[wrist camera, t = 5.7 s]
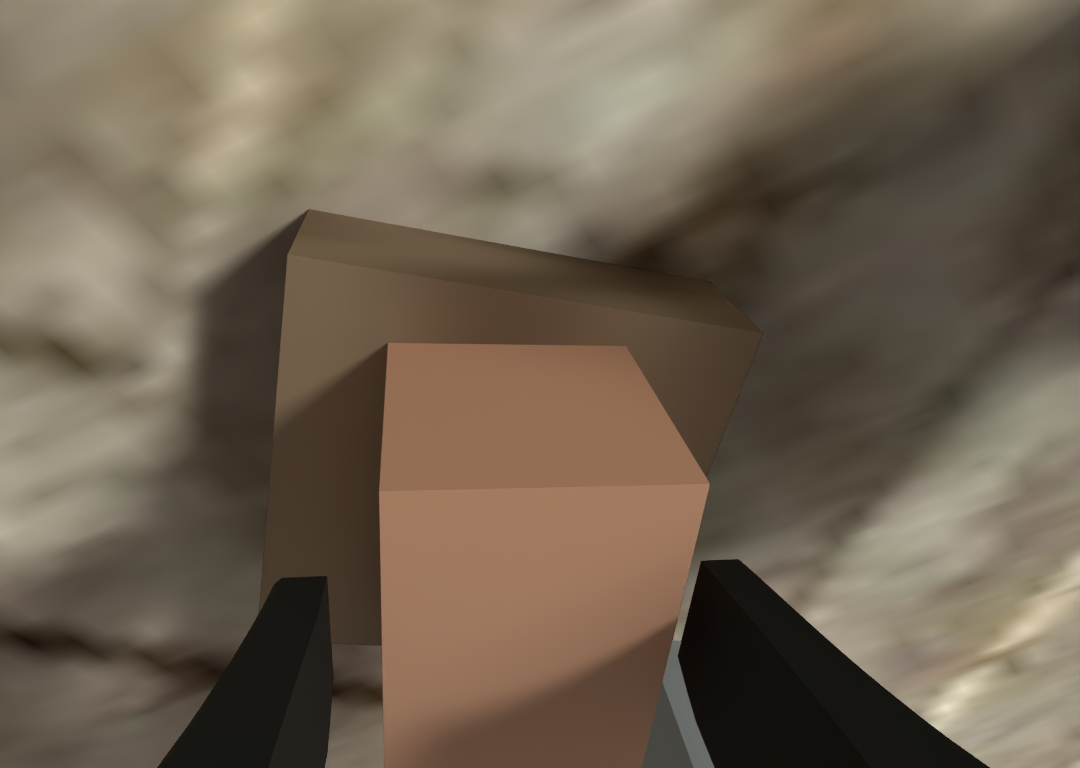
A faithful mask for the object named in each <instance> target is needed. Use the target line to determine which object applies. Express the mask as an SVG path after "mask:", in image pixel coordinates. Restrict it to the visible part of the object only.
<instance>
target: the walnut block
mask: <svg viewBox="0 0 1080 768" xmlns="http://www.w3.org/2000/svg"><path fill="white" fill-rule="evenodd" d="M762 336H763V332H762V331H761V330H760V329H758V328H757V327H756V326H755V325H754V324H753V323H752V322H751V321H750V320H749V319H748V318H747V317H746V316H745V315H744V314H743V313H742V312H741V311H740V310H739V309H738V308H737V307H736V306H735V305H734V304H733V303H732V302H731V301H730V300H729V299H728V298H727V297H726V296H725V295H724V294H722V293H721V292H720V291H719V290H718V289H717V288H716V287H715V286H714V285H713V284H712V283H711V282H708V281H703V280H697V279H691V278H686V277H680V276H675V275H669V274H664V273H658V272H653V271H647V270H642V269H636V268H631V267H625V266H620V265H614V264H609V263H603V262H598V261H592V260H587V259H581V258H576V257H570V256H564V255H559V254H553V253H548V252H542V251H537V250H531V249H526V248H520V247H515V246H509V245H504V244H498V243H493V242H487V241H482V240H476V239H471V238H465V237H460V236H454V235H448V234H443V233H437V232H432V231H426V230H421V229H415V228H410V227H404V226H399V225H393V224H388V223H382V222H377V221H371V220H366V219H360V218H355V217H349V216H344V215H338V214H332V213H327V212H321V211H316V210H310V209H309V210H308V212H307V214H306V216H305V219H304V221H303V223H302V225H301V227H300V229H299V231H298V233H297V235H296V238H295V240H294V242H293V244H292V246H291V248H290V250H289V252H288V255H287V267H286V280H285V292H284V305H283V318H282V330H281V343H280V355H279V368H278V380H277V393H276V405H275V418H274V430H273V443H272V455H271V468H270V481H269V493H268V506H267V518H266V531H265V543H264V556H263V568H262V581H261V593H260V606H259V612H260V611H261V609H262V607H263V605H264V603H265V601H266V599H267V597H268V595H269V593H270V591H271V589H272V587H273V585H274V584H275V583H276V582H277V581H279V580H280V579H281V578H288V577H313V576H327V582H328V598H329V615H330V631H331V643H333V644H356V645H380V646H382V618H381V564H380V510H379V486H380V469H381V452H382V435H383V418H384V402H385V385H386V368H387V351H388V343H435V344H510V345H583V346H626V347H627V348H628V350H629V352H630V353H631V355H632V357H633V358H634V360H635V362H636V363H637V365H638V366H639V368H640V370H641V371H642V373H643V375H644V376H645V378H646V380H647V381H648V383H649V385H650V386H651V388H652V389H653V391H654V393H655V394H656V396H657V398H658V399H659V401H660V403H661V404H662V406H663V407H664V409H665V411H666V412H667V414H668V416H669V417H670V419H671V421H672V422H673V424H674V425H675V427H676V429H677V430H678V432H679V434H680V435H681V437H682V439H683V440H684V442H685V444H686V445H687V447H688V448H689V450H690V452H691V453H692V455H693V457H694V458H695V460H696V462H697V463H698V465H699V466H700V468H701V470H702V471H703V473H704V475H705V476H707V474H708V471H709V469H710V466H711V464H712V461H713V459H714V456H715V454H716V451H717V449H718V446H719V444H720V441H721V439H722V436H723V434H724V431H725V429H726V426H727V423H728V421H729V418H730V416H731V413H732V411H733V408H734V406H735V403H736V401H737V398H738V396H739V393H740V391H741V388H742V386H743V383H744V381H745V378H746V376H747V373H748V371H749V368H750V366H751V363H752V361H753V358H754V356H755V353H756V351H757V348H758V346H759V343H760V341H761V338H762Z"/></svg>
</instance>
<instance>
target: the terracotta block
mask: <svg viewBox="0 0 1080 768" xmlns="http://www.w3.org/2000/svg"><path fill="white" fill-rule="evenodd" d="M709 486H710V483H709V481H708V480H707V478H706V476H705V475H704V473H703V471H702V470H701V468H700V466H699V465H698V463H697V462H696V460H695V458H694V457H693V455H692V453H691V452H690V450H689V448H688V447H687V445H686V444H685V442H684V440H683V439H682V437H681V435H680V434H679V432H678V430H677V429H676V427H675V425H674V424H673V422H672V421H671V419H670V417H669V416H668V414H667V412H666V411H665V409H664V407H663V406H662V404H661V403H660V401H659V399H658V398H657V396H656V394H655V393H654V391H653V389H652V388H651V386H650V385H649V383H648V381H647V380H646V378H645V376H644V375H643V373H642V371H641V370H640V368H639V366H638V365H637V363H636V362H635V360H634V358H633V357H632V355H631V353H630V352H629V350H628V348H627V347H626V346H583V345H510V344H435V343H388V351H387V368H386V385H385V402H384V418H383V435H382V452H381V469H380V486H379V510H380V564H381V618H382V671H383V725H384V768H642V765H643V761H644V757H645V753H646V748H647V744H648V740H649V736H650V732H651V728H652V723H653V719H654V715H655V711H656V707H657V703H658V698H659V694H660V690H661V686H662V682H663V678H664V674H665V669H666V665H667V661H668V657H669V653H670V649H671V644H672V640H673V636H674V632H675V628H676V624H677V619H678V615H679V611H680V607H681V603H682V599H683V595H684V590H685V586H686V582H687V578H688V574H689V570H690V565H691V561H692V557H693V553H694V549H695V545H696V540H697V536H698V532H699V528H700V524H701V520H702V516H703V511H704V507H705V503H706V499H707V495H708V491H709Z"/></svg>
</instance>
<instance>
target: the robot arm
mask: <svg viewBox="0 0 1080 768" xmlns="http://www.w3.org/2000/svg"><path fill="white" fill-rule="evenodd" d="M678 659H679V663H680V667H681V671H682V675H683V678H684V682H685V686H686V690H687V693H688V697H689V700H690V704H691V707H692V710H693V714H694V717H695V721H696V723H697V726H698V728H699V731H700V733H701V736H702V739H703V741H704V743H705V746H706V748H707V751H708V753H709V756H710V758H711V761H712V763H713V766H714V768H990V767H988V766H987V765H985V764H984V763H983V762H981V761H980V760H978V759H977V758H975V757H974V756H973V755H971V754H970V753H968V752H967V751H966V750H964V749H963V748H961V747H960V746H959V745H957V744H956V743H954V742H953V741H951V740H950V739H949V738H947V737H946V736H945V735H943V734H942V733H941V732H939V731H938V730H937V729H935V728H934V727H933V726H931V725H930V724H929V723H928V722H926V721H925V720H924V719H922V718H921V717H920V716H919V715H917V714H916V713H915V712H914V711H912V710H911V709H910V708H909V707H907V706H906V705H905V704H904V703H902V702H901V701H900V700H899V699H897V698H896V697H895V696H894V695H892V694H891V693H890V692H889V691H887V690H886V689H885V688H884V687H882V686H881V685H880V684H879V683H878V682H876V681H875V680H874V679H873V678H872V677H870V676H869V675H868V674H867V673H866V672H864V671H863V670H862V669H861V668H860V667H858V666H857V665H856V664H855V663H854V662H853V661H851V660H850V659H849V658H848V657H847V656H846V655H845V654H843V653H842V652H841V651H840V650H839V649H838V648H837V647H835V646H834V645H833V644H832V643H831V642H830V641H829V640H827V639H826V638H825V637H824V636H823V635H822V634H821V633H820V632H819V631H817V630H816V629H815V628H814V627H813V626H812V625H811V624H810V623H809V622H807V621H806V620H805V619H804V618H803V617H802V616H801V615H800V614H799V613H798V612H796V611H795V610H794V609H793V608H792V607H791V606H790V605H789V604H788V603H787V602H785V601H784V600H783V599H782V598H781V597H780V596H779V595H778V594H777V593H776V592H775V591H773V590H772V589H771V588H770V587H769V586H768V585H767V584H766V583H765V582H764V581H762V580H761V579H760V578H759V577H758V576H757V575H756V574H755V573H754V572H752V571H751V570H750V569H749V568H748V567H747V566H746V565H744V564H743V563H742V562H741V561H740V560H739V559H733V560H709V561H701V564H700V568H699V572H698V576H697V580H696V584H695V588H694V592H693V596H692V600H691V604H690V608H689V612H688V616H687V620H686V624H685V628H684V632H683V636H682V640H681V644H680V648H679V652H678ZM332 690H333V664H332V648H331V631H330V615H329V598H328V582H327V576H313V577H288V578H281V579H280V580H279V581H277V582H276V583H275V584H274V585H273V587H272V589H271V591H270V593H269V595H268V597H267V599H266V601H265V603H264V605H263V607H262V609H261V611H260V612H259V614H258V616H257V618H256V620H255V622H254V623H253V625H252V627H251V629H250V630H249V632H248V634H247V635H246V637H245V639H244V640H243V642H242V644H241V645H240V647H239V649H238V650H237V652H236V654H235V655H234V657H233V659H232V660H231V662H230V663H229V665H228V666H227V668H226V669H225V671H224V673H223V674H222V676H221V677H220V679H219V680H218V682H217V683H216V685H215V686H214V688H213V689H212V691H211V692H210V694H209V695H208V697H207V699H206V700H205V702H204V703H203V705H202V706H201V708H200V709H199V711H198V712H197V714H196V715H195V716H194V718H193V719H192V721H191V722H190V724H189V725H188V726H187V728H186V729H185V730H184V732H183V733H182V734H181V736H180V737H179V739H178V740H177V741H176V743H175V744H174V745H173V747H172V748H171V750H170V751H169V752H168V754H167V755H166V756H165V758H164V759H163V761H162V762H161V763H160V765H159V766H158V767H157V768H325V763H326V757H327V752H328V740H329V728H330V716H331V703H332Z"/></svg>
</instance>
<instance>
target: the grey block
mask: <svg viewBox="0 0 1080 768" xmlns="http://www.w3.org/2000/svg"><path fill="white" fill-rule="evenodd" d="M680 644H681V641H672V644H671V649H670V653H669V657H668V661H667V665H666V669H665V674H664V678H663V682H662V686H661V690H660V694H659V698H658V703H657V707H656V711H655V715H654V719H653V723H652V728H651V732H650V736H649V740H648V744H647V748H646V753H645V757H644V761H643V765H642V768H714V766H713V763H712V761H711V758H710V756H709V753H708V751H707V748H706V746H705V743H704V741H703V739H702V736H701V733H700V731H699V728H698V726H697V723H696V721H695V717H694V714H693V710H692V707H691V704H690V700H689V697H688V693H687V690H686V686H685V682H684V678H683V675H682V671H681V667H680V663H679V659H678V652H679V648H680Z"/></svg>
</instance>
